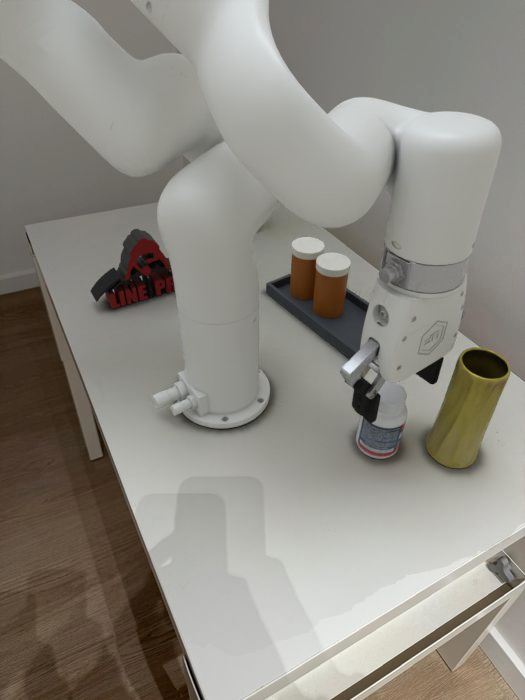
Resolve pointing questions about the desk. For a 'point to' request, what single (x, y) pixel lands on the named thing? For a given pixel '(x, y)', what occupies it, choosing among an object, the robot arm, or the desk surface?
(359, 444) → the pill bottle
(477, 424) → the vase
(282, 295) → the tray
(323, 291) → the amber bottle near
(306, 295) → the amber bottle far
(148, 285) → the logo sign
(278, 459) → the desk surface
